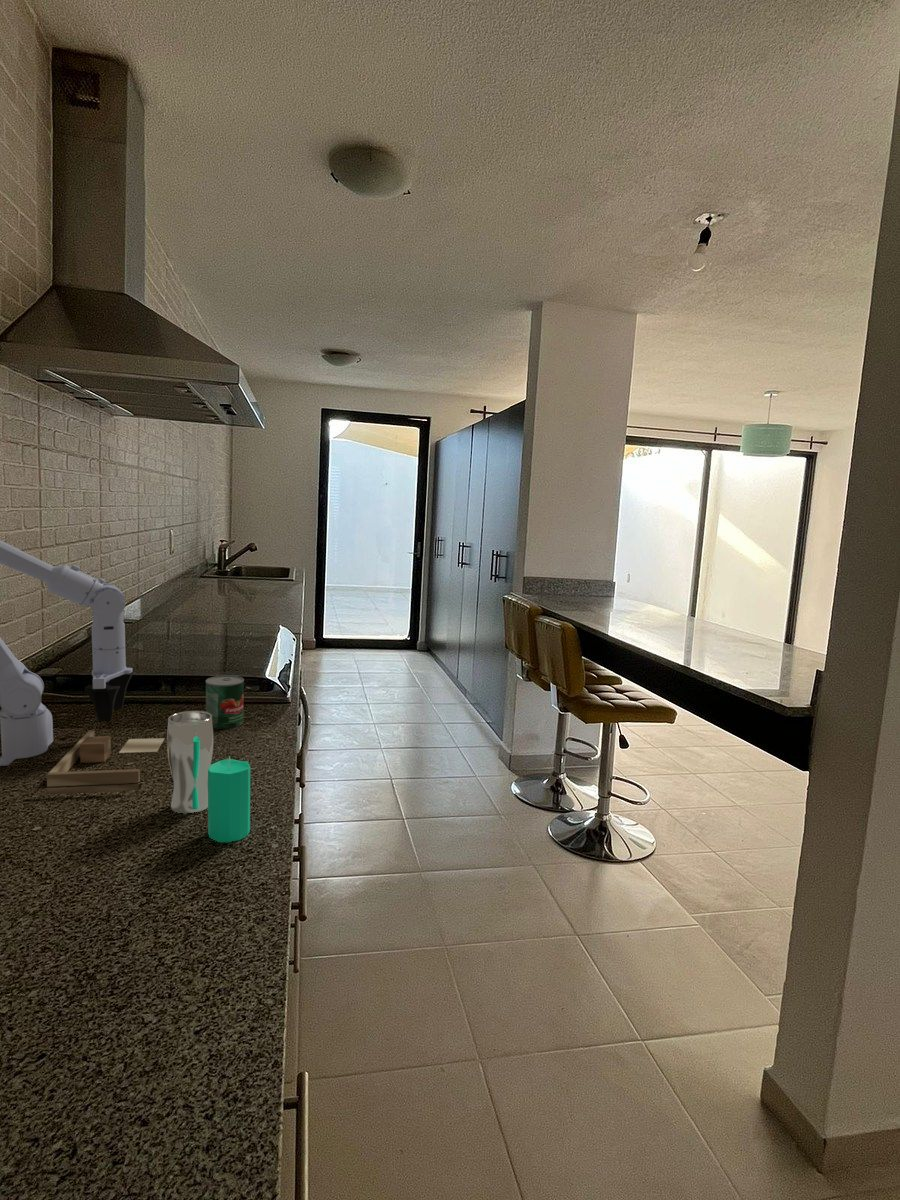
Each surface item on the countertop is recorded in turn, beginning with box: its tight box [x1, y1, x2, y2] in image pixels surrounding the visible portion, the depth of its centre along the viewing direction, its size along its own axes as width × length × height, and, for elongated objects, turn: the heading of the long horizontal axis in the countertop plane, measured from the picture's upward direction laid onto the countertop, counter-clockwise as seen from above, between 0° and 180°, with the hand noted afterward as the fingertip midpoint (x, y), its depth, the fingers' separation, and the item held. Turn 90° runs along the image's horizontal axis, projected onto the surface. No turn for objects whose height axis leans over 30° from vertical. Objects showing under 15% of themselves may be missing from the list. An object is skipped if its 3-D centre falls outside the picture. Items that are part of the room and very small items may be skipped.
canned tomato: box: [205, 675, 245, 730], centre depth 144 cm, size 8×8×11 cm
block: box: [79, 735, 112, 764], centre depth 121 cm, size 4×4×4 cm
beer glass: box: [166, 710, 214, 815], centre depth 106 cm, size 7×7×15 cm
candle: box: [207, 755, 251, 843], centre depth 98 cm, size 6×6×12 cm
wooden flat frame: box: [46, 729, 166, 795], centre depth 121 cm, size 22×14×3 cm, turn 12°
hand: (110, 714), depth 129 cm, fingers open, 7 cm apart
